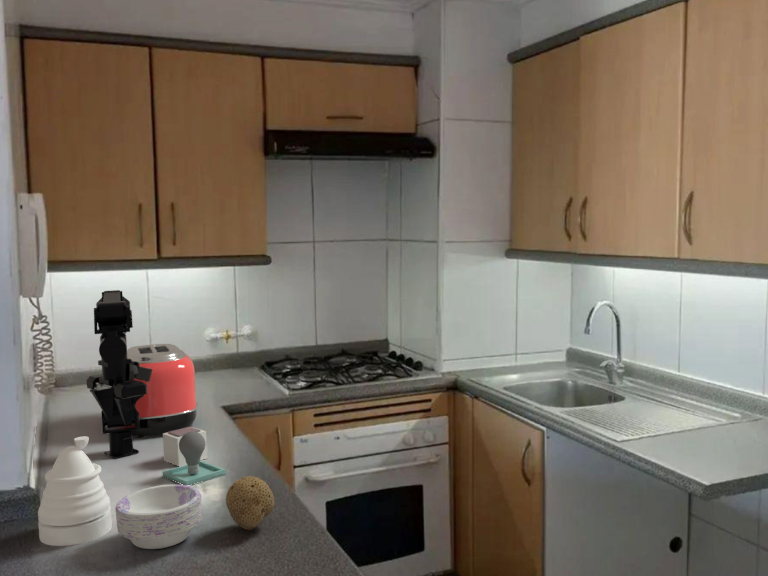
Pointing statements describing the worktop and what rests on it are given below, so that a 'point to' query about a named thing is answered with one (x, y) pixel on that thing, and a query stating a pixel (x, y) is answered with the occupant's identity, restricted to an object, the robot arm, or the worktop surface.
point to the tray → (185, 478)
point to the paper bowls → (159, 515)
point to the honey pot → (74, 500)
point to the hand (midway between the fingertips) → (118, 421)
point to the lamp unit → (172, 445)
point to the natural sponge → (249, 501)
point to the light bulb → (192, 450)
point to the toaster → (165, 389)
